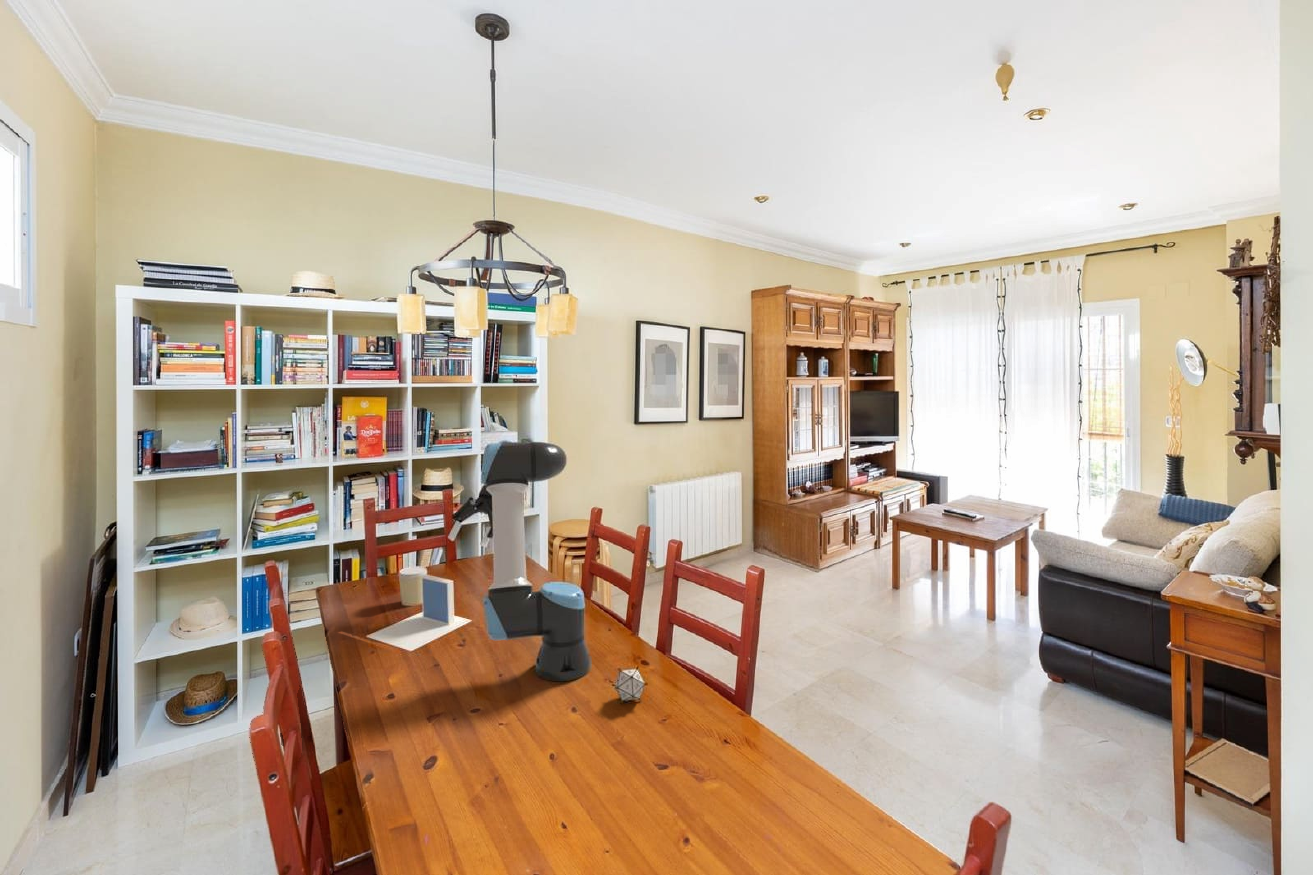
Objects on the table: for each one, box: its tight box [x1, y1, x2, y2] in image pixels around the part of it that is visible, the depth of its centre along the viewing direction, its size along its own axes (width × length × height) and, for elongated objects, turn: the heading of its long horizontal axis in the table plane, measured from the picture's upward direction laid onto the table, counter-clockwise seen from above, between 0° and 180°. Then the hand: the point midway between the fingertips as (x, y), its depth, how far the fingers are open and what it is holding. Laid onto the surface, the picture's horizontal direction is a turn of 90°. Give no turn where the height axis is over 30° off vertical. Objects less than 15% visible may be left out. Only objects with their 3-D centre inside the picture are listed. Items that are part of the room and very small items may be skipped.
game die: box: [611, 665, 649, 704], centre depth 142 cm, size 9×8×10 cm
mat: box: [365, 611, 473, 652], centre depth 180 cm, size 20×24×1 cm
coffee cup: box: [398, 565, 428, 607], centre depth 201 cm, size 9×9×12 cm
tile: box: [421, 574, 455, 625], centre depth 186 cm, size 12×2×14 cm, turn 63°
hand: (466, 542), depth 195 cm, fingers open, 13 cm apart
